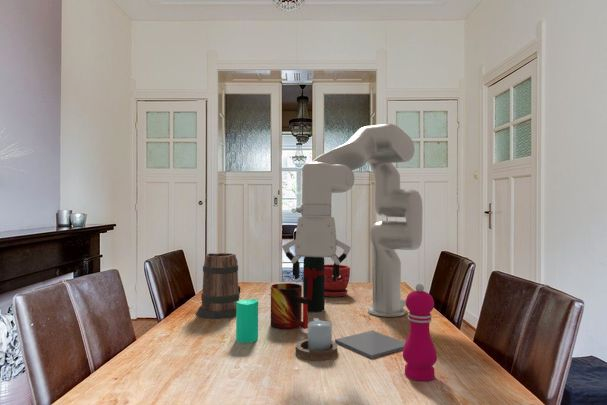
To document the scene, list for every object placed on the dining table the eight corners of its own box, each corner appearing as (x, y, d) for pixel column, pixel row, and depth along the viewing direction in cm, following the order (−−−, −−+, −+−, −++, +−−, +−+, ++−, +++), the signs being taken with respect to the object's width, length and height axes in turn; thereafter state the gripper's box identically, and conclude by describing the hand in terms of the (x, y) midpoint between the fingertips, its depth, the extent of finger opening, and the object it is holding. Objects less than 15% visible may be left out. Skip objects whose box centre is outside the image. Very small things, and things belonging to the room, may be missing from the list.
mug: (306, 333, 117) (306, 291, 117) (264, 327, 123) (264, 287, 123) (318, 324, 126) (319, 285, 126) (279, 319, 132) (279, 282, 132)
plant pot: (351, 298, 161) (351, 268, 161) (318, 298, 161) (318, 268, 162) (348, 291, 174) (348, 263, 174) (317, 291, 175) (317, 263, 175)
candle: (261, 336, 114) (261, 294, 114) (252, 343, 108) (252, 298, 108) (242, 334, 116) (242, 292, 116) (232, 341, 110) (232, 297, 110)
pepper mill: (398, 369, 92) (398, 281, 92) (429, 368, 93) (429, 280, 93) (409, 383, 85) (409, 287, 85) (442, 382, 85) (442, 287, 85)
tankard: (233, 321, 129) (233, 258, 129) (185, 317, 133) (185, 256, 133) (258, 303, 152) (258, 250, 152) (217, 300, 156) (217, 248, 156)
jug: (333, 355, 100) (333, 327, 100) (309, 356, 99) (309, 328, 99) (326, 342, 110) (326, 316, 110) (304, 342, 109) (304, 316, 109)
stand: (325, 343, 109) (325, 336, 109) (345, 356, 99) (345, 349, 99) (289, 348, 105) (289, 341, 105) (306, 363, 95) (306, 355, 95)
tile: (372, 333, 118) (372, 330, 118) (410, 347, 106) (410, 344, 106) (335, 342, 110) (335, 339, 110) (371, 358, 98) (371, 355, 98)
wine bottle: (297, 312, 139) (298, 225, 139) (306, 305, 149) (306, 224, 149) (319, 314, 137) (320, 226, 137) (327, 307, 146) (327, 224, 147)
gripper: (280, 211, 100) (279, 280, 100) (350, 212, 98) (349, 283, 98) (285, 211, 108) (285, 275, 107) (351, 211, 105) (350, 277, 105)
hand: (315, 279), depth 103 cm, fingers open, 9 cm apart
